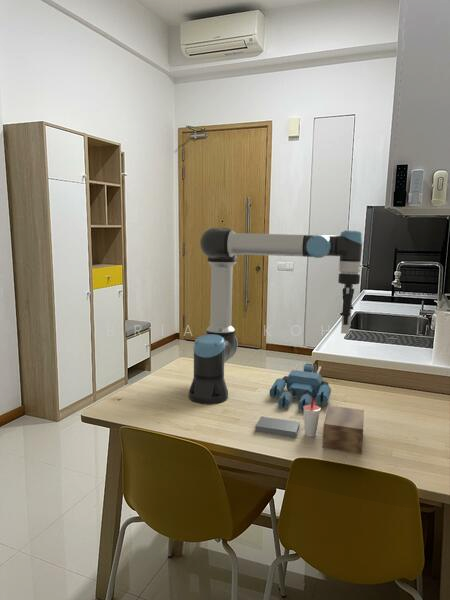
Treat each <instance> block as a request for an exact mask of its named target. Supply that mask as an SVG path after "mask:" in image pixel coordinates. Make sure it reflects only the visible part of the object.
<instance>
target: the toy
mask: <svg viewBox="0 0 450 600" xmlns="http://www.w3.org/2000/svg"><path fill="white" fill-rule="evenodd" d="M299 366H300V364H299V363H296V365H295V367H294V369H292V370H291V371H290V372H289V374H288V375H284V376H283V377H282V378H277V379H276V380H275V381H274V382H273V384H272V386H271V387H270V390H269V392H268V393H269V395H270V397H271V398H273V399H274V398H275V397H276V398H275V399H278V400H277V403H278V404H277V405H278V407H280V408H284V409H287V408H289V407H290V405H291V403H292V400H293V398H300V400H299V401H298V403H297V407H298V410H299V411H301V412H302V411H304V408H303V406H305V405H311V402H312V399H313V397H315V402H316V403H317V405H321V404H322V406H326V405H327V404H328V403H329V399H330V396H331V393H332V389H331V387H330V386H329V385H330V384H329V382H328V381H325V380H323V376H322V375H321V373H320V372H321V370H322V366H321V365H319V366H318V369H317V371H316V372H314V367H315V366H314V364H312V363H306V364H304V366H303V370H297V369H298V368H299ZM285 387H286V390H287V391H284V389H285Z"/></svg>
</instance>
